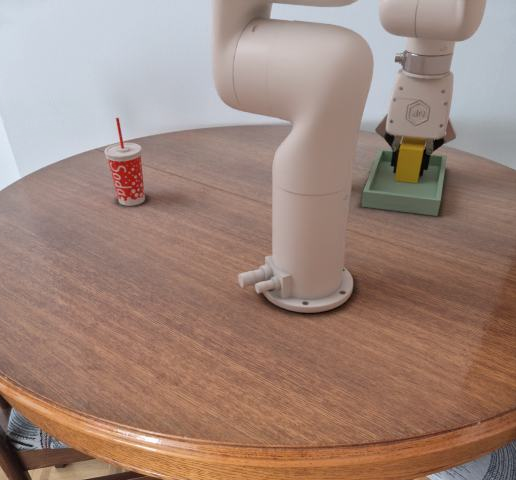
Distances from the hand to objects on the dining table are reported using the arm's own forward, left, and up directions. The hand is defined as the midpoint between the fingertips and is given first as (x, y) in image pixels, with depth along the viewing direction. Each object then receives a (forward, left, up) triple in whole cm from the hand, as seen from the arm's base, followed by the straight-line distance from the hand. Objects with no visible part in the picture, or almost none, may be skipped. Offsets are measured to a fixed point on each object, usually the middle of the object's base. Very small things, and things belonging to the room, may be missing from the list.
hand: (408, 170), depth 100 cm
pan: (-3, -3, -1) cm, 4 cm away
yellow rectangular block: (0, 0, -1) cm, 1 cm away
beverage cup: (-49, +14, -2) cm, 51 cm away
